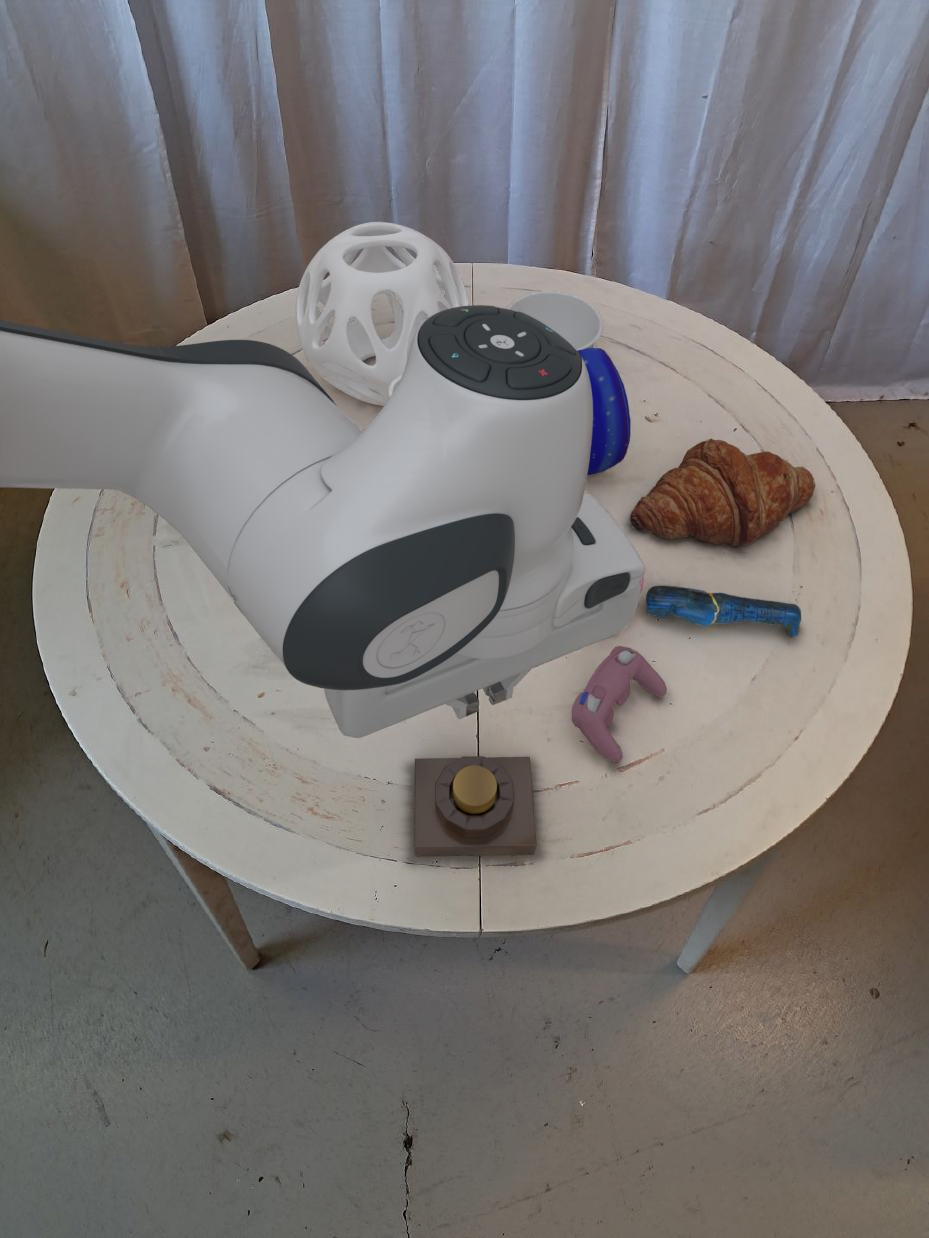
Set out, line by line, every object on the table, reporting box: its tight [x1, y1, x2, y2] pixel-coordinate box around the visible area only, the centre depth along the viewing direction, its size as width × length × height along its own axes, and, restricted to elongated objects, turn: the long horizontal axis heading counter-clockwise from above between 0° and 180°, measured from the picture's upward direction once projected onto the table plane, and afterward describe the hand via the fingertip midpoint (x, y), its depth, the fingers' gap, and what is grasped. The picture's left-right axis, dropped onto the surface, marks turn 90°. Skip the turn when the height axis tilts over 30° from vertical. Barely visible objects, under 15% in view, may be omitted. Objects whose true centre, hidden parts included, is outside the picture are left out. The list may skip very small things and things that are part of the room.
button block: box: [413, 755, 537, 858], centre depth 74 cm, size 10×8×4 cm
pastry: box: [629, 438, 817, 548], centre depth 93 cm, size 17×15×8 cm
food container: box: [505, 290, 604, 351], centre depth 107 cm, size 12×12×6 cm
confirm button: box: [453, 765, 497, 814], centre depth 72 cm, size 4×4×2 cm
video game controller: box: [570, 645, 668, 763], centre depth 80 cm, size 10×5×7 cm, turn 145°
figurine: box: [645, 584, 802, 638], centre depth 87 cm, size 5×4×15 cm
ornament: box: [578, 347, 632, 476], centre depth 94 cm, size 11×9×15 cm
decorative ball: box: [295, 221, 470, 407], centre depth 101 cm, size 20×20×17 cm
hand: (480, 700), depth 60 cm, fingers closed
